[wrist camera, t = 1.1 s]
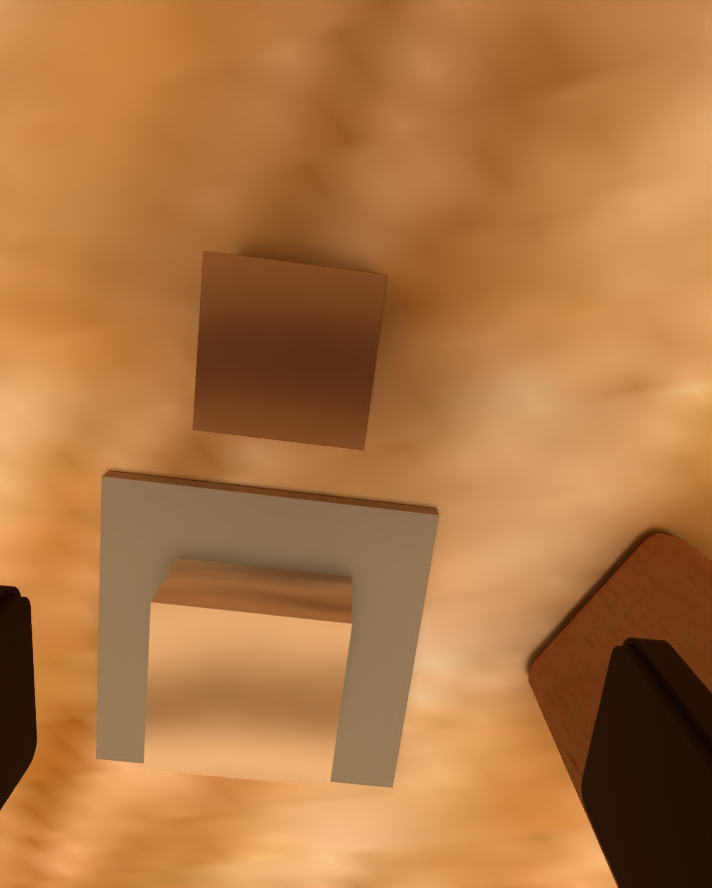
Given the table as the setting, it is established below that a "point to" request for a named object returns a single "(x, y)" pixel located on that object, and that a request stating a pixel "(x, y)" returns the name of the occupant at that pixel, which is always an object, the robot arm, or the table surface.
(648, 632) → the wooden block
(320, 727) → the birch base brick
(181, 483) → the grey flat square
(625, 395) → the table surface
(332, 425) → the walnut cube
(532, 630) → the table surface
